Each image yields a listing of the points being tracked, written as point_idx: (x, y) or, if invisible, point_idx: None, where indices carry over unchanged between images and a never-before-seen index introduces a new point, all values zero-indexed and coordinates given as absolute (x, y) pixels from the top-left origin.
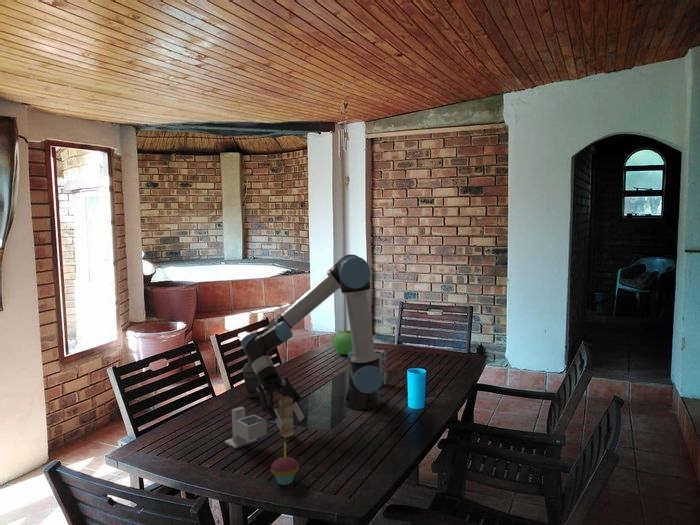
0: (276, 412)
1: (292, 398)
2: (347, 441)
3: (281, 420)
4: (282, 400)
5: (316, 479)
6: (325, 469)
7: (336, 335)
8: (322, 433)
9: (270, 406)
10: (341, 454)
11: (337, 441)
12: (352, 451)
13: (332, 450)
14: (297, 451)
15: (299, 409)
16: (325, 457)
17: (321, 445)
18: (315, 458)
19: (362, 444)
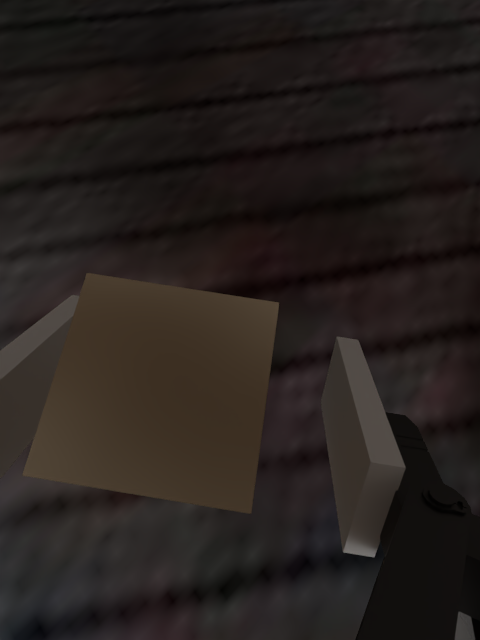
0: (382, 423)
1: (88, 276)
2: (60, 105)
3: (347, 358)
4: (265, 390)
5: (466, 23)
6: (378, 38)
7: None
8: (27, 271)
9: (463, 532)
10: (213, 57)
11: (89, 142)
12: (154, 38)
13: (203, 106)
14: (337, 234)
15: (31, 337)
16: (288, 92)
17: (186, 178)
18: (330, 119)
19: (55, 39)
